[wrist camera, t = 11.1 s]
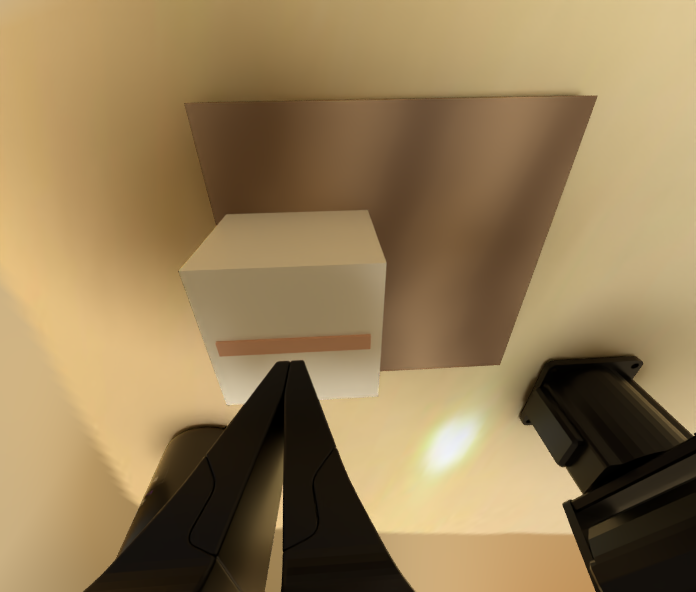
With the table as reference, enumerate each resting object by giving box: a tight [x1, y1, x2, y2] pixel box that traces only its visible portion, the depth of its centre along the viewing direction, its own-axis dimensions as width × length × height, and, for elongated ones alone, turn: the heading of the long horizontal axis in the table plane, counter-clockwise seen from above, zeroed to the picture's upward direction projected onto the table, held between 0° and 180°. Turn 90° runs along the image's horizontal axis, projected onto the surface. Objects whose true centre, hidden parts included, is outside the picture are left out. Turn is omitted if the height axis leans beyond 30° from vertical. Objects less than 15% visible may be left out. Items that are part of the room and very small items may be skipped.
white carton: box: [178, 210, 387, 405], centre depth 13 cm, size 6×6×5 cm
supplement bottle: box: [115, 427, 225, 560], centre depth 19 cm, size 7×7×12 cm
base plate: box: [184, 96, 597, 371], centre depth 15 cm, size 15×14×1 cm
